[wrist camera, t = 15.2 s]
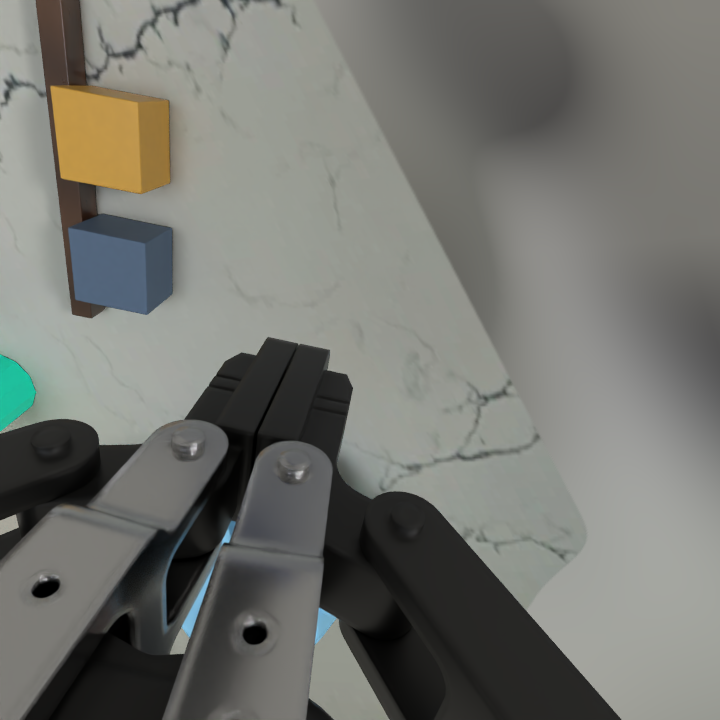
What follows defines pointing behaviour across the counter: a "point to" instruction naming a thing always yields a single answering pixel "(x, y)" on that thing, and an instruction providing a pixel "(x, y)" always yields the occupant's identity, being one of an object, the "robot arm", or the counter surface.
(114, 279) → the slate block
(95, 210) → the straightedge
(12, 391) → the candle
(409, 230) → the counter surface
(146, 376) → the counter surface
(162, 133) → the ochre block
